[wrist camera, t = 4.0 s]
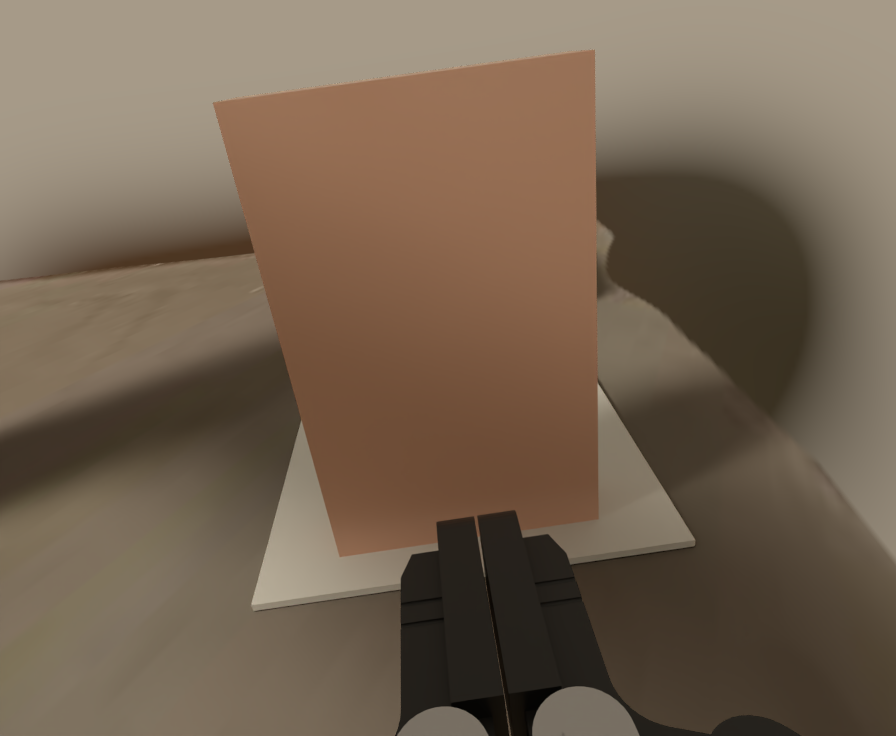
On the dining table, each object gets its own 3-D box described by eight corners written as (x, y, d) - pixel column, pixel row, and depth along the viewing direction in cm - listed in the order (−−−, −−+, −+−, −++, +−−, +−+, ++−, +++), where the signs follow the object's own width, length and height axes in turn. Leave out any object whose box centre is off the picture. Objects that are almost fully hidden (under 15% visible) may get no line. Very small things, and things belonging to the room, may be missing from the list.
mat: (694, 546, 22) (695, 539, 21) (253, 611, 21) (251, 605, 21) (553, 315, 41) (553, 311, 41) (322, 348, 41) (321, 345, 41)
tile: (598, 519, 23) (594, 49, 16) (339, 557, 23) (212, 102, 15) (580, 476, 25) (569, 50, 18) (345, 510, 25) (237, 97, 18)
